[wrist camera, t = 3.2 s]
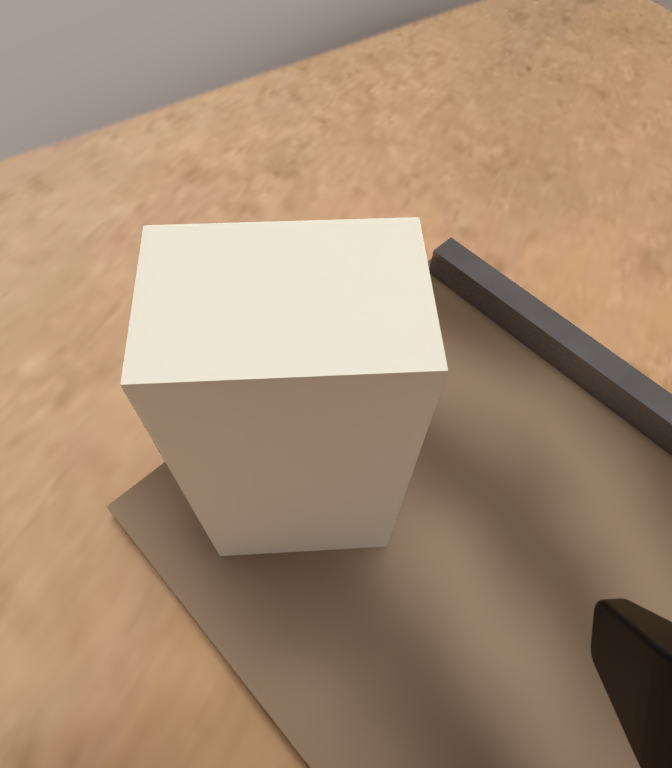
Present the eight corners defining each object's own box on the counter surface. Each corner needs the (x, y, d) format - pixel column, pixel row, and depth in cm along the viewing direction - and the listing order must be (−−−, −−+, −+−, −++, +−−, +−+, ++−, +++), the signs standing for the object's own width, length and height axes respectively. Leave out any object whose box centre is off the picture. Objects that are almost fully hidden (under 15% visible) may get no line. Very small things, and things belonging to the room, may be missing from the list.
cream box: (386, 546, 21) (448, 370, 11) (220, 556, 21) (120, 384, 11) (375, 440, 23) (417, 209, 13) (224, 447, 23) (144, 217, 13)
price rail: (935, 663, 20) (1007, 655, 18) (424, 276, 28) (432, 239, 26) (950, 630, 20) (1022, 618, 18) (445, 260, 28) (454, 222, 26)
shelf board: (670, 1227, 14) (693, 1258, 13) (114, 515, 23) (106, 506, 22) (948, 626, 21) (974, 621, 20) (445, 259, 30) (449, 245, 29)
